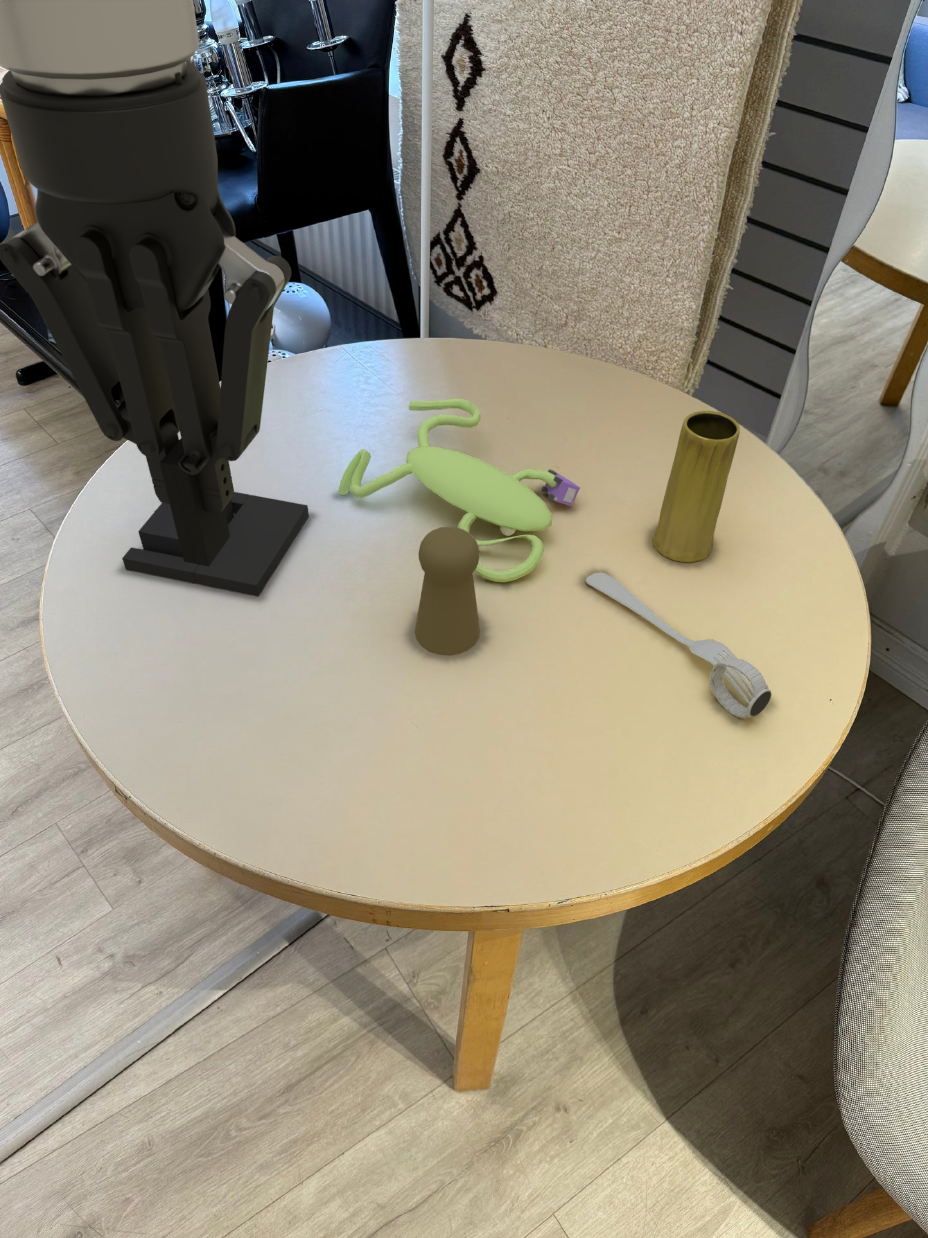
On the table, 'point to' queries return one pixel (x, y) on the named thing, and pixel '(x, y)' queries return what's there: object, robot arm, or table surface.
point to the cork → (448, 592)
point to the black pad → (235, 548)
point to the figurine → (471, 486)
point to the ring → (756, 679)
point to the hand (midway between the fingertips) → (207, 548)
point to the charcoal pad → (166, 531)
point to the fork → (701, 648)
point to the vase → (696, 486)
